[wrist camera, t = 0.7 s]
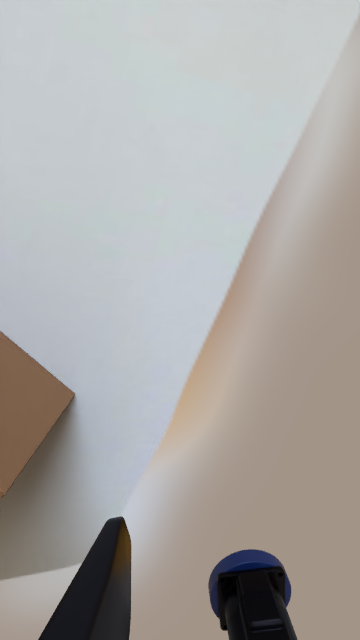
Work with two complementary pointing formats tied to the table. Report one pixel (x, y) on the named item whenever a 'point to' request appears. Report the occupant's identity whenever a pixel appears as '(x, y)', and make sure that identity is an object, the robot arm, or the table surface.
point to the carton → (25, 408)
